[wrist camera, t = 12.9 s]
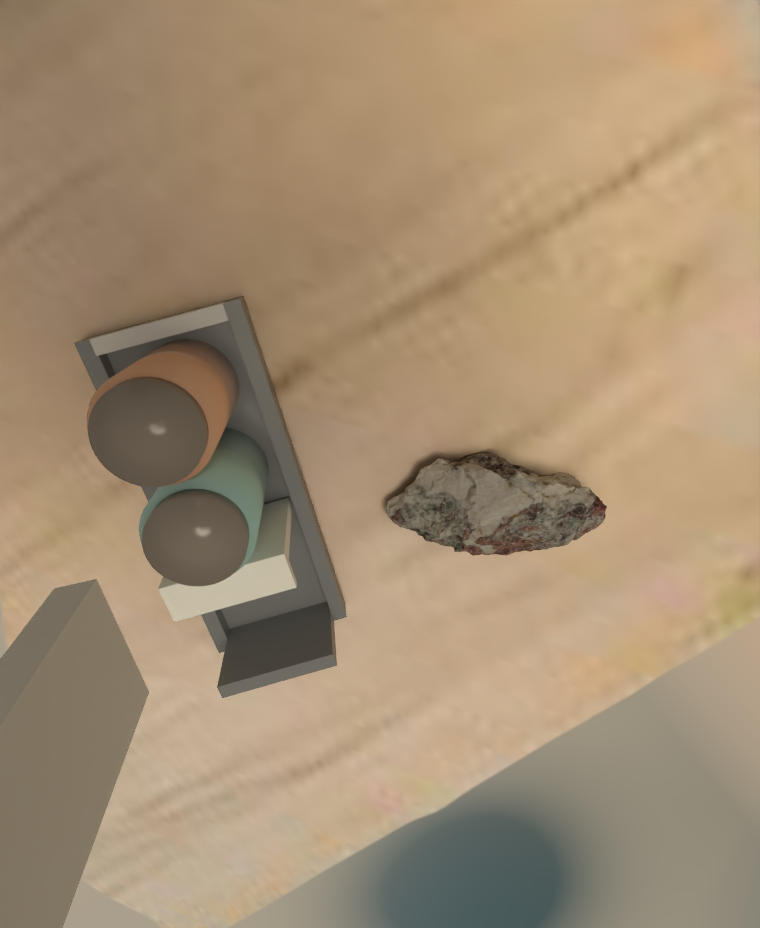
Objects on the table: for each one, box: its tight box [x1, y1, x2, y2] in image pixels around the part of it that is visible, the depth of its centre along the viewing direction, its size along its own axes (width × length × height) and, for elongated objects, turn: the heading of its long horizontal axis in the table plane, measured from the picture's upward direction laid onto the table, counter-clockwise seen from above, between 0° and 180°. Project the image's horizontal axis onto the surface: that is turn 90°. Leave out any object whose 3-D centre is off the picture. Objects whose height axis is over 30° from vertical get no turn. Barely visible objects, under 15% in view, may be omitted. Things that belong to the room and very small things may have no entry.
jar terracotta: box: [87, 339, 239, 487], centre depth 30 cm, size 6×6×10 cm
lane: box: [74, 297, 346, 698], centre depth 35 cm, size 24×10×7 cm, turn 14°
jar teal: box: [139, 428, 269, 586], centre depth 32 cm, size 6×6×10 cm
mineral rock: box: [385, 453, 607, 555], centre depth 39 cm, size 15×8×4 cm, turn 71°
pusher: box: [158, 498, 297, 622], centre depth 34 cm, size 2×7×8 cm, turn 104°
